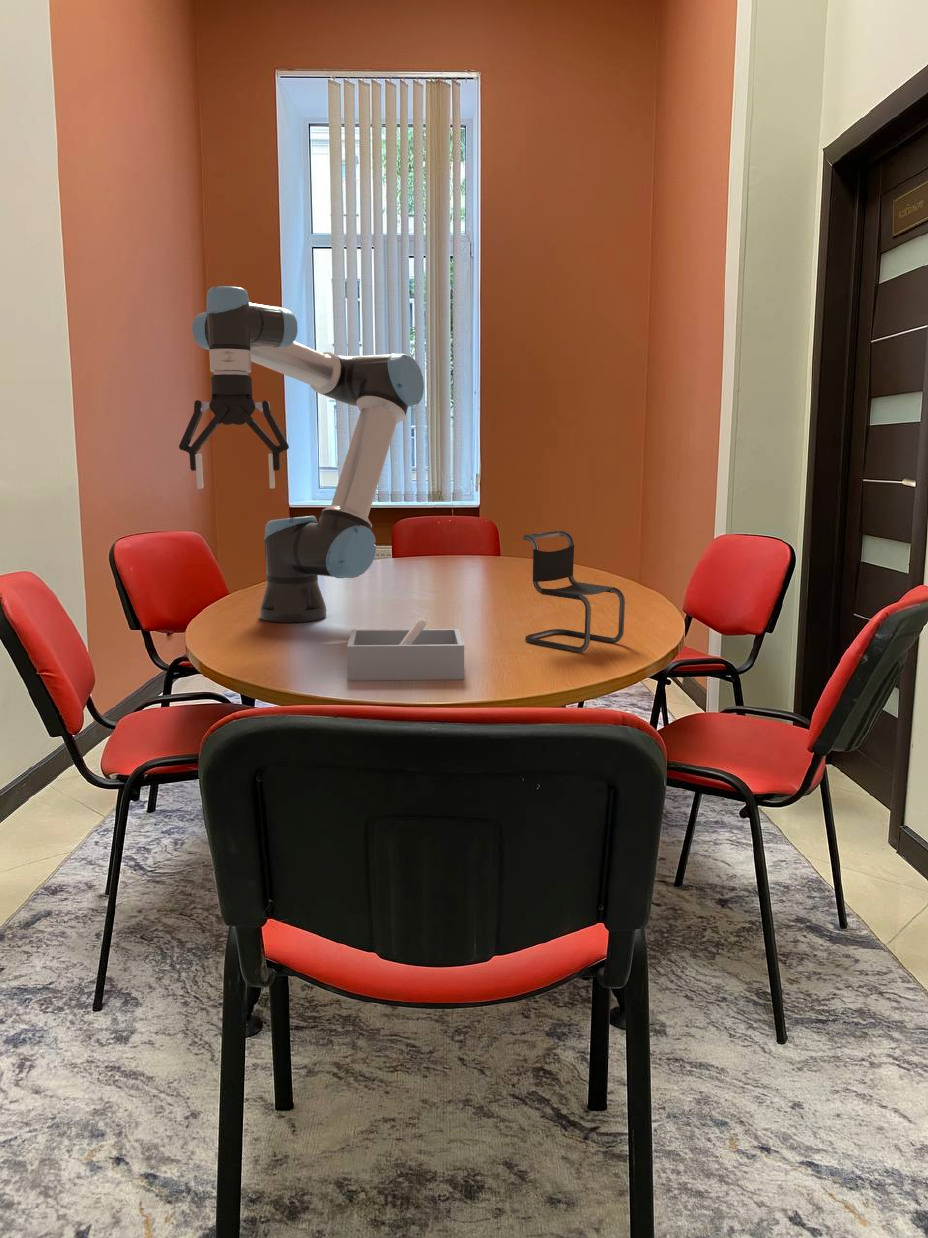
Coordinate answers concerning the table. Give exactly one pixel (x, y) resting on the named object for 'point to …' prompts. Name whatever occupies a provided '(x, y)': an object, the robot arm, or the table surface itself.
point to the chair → (567, 590)
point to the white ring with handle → (414, 632)
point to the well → (405, 655)
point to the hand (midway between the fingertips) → (236, 488)
